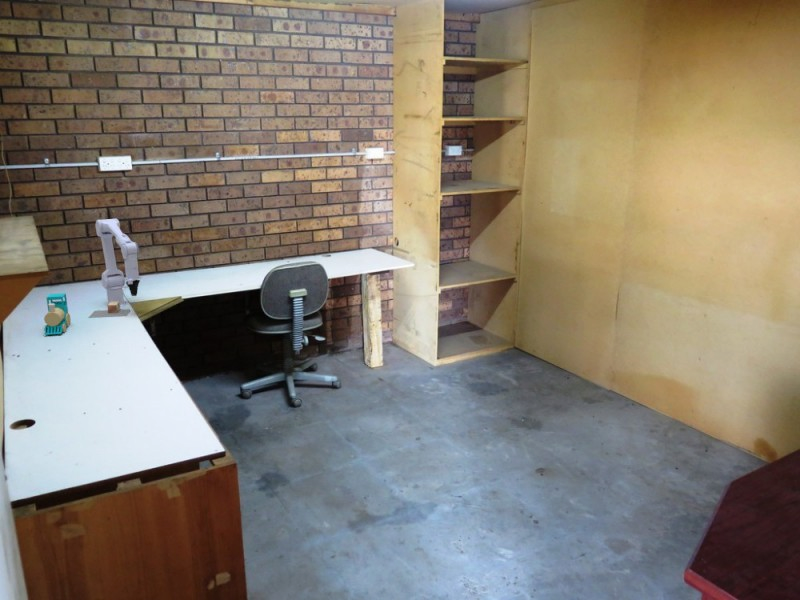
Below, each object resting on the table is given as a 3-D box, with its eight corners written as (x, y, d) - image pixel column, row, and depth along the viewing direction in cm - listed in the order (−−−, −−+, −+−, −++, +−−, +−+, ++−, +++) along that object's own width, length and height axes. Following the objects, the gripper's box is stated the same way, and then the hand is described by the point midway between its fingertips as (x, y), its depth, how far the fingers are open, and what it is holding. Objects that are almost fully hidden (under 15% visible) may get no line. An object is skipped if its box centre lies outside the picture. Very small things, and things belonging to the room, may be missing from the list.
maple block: (108, 313, 300) (111, 309, 307) (117, 313, 301) (120, 309, 308) (107, 305, 299) (110, 301, 306) (116, 305, 300) (119, 301, 307)
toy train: (42, 337, 265) (38, 303, 262) (52, 326, 281) (48, 294, 277) (63, 335, 267) (58, 302, 264) (71, 324, 283) (67, 293, 279)
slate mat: (94, 311, 304) (94, 310, 304) (131, 310, 308) (131, 309, 308) (88, 318, 292) (88, 317, 292) (126, 317, 296) (126, 316, 296)
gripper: (137, 270, 289) (140, 298, 292) (143, 264, 303) (145, 291, 306) (121, 271, 287) (124, 299, 291) (127, 265, 301) (130, 292, 305)
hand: (134, 295), depth 298 cm, fingers closed
